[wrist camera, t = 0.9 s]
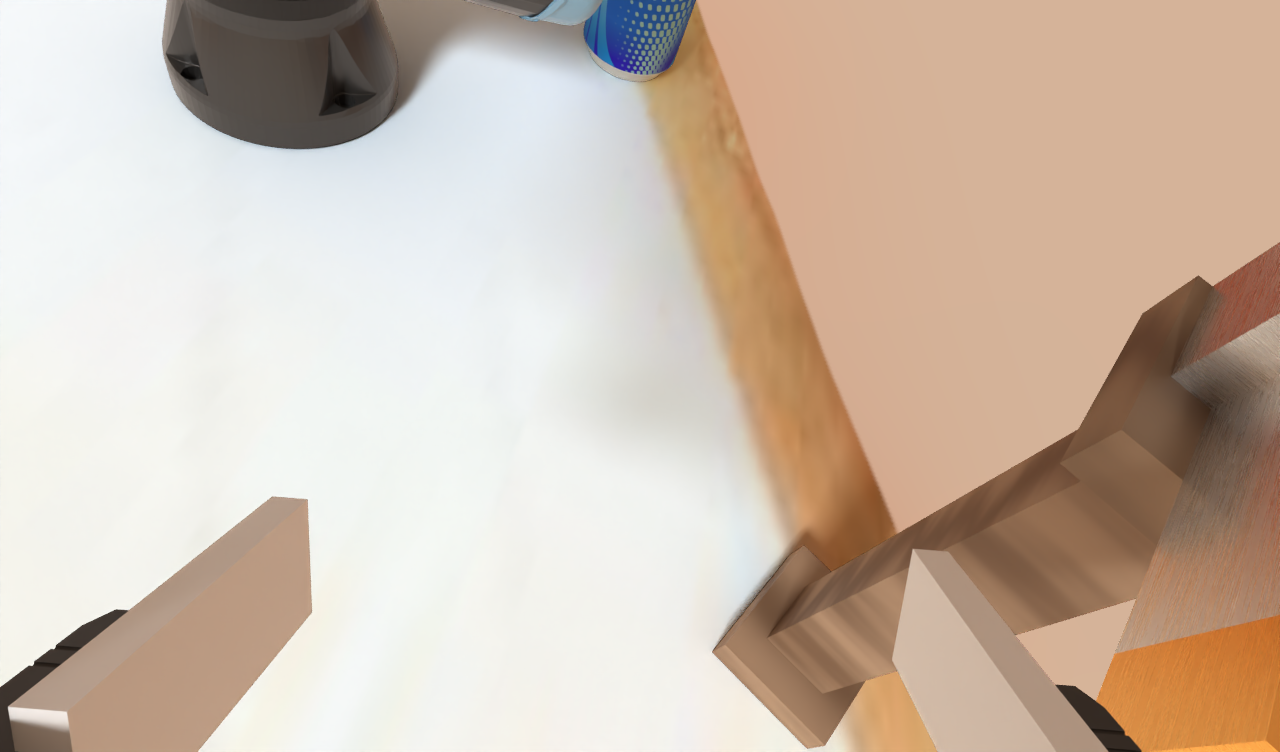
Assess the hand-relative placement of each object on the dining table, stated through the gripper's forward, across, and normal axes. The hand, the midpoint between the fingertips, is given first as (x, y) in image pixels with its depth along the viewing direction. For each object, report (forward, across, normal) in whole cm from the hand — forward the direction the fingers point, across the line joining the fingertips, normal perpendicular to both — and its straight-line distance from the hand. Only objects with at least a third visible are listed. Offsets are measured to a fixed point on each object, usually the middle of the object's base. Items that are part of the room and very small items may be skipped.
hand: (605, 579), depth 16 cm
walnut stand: (+22, +10, -17) cm, 30 cm away
